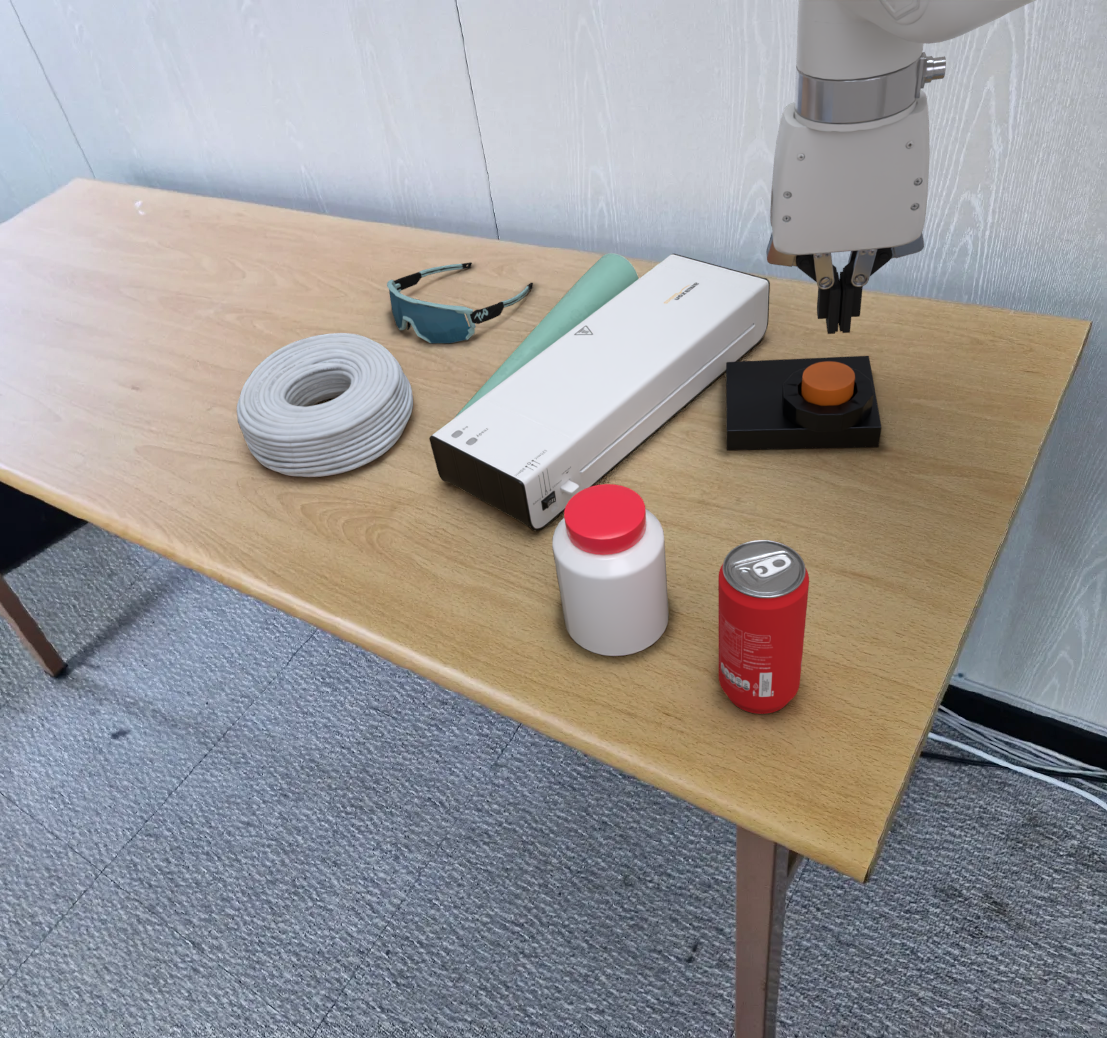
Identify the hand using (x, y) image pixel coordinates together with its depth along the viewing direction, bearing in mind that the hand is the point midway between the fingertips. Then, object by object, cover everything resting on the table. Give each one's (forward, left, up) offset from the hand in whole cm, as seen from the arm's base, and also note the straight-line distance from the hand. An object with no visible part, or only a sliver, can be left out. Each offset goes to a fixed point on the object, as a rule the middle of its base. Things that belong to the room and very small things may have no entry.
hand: (837, 323), depth 77 cm
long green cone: (+26, -11, -11) cm, 31 cm away
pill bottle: (+16, +22, -11) cm, 29 cm away
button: (0, 0, -7) cm, 7 cm away
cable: (+46, -2, -11) cm, 48 cm away
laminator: (+18, -3, -11) cm, 21 cm away
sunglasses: (+37, -23, -11) cm, 45 cm away
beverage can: (+6, +28, -11) cm, 30 cm away
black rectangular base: (+2, -2, -11) cm, 11 cm away
